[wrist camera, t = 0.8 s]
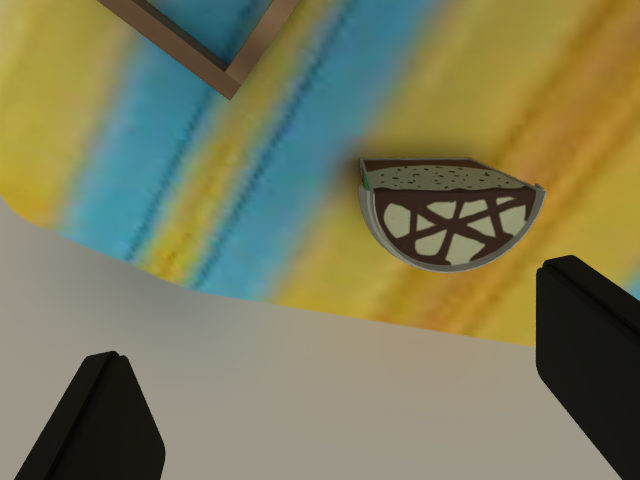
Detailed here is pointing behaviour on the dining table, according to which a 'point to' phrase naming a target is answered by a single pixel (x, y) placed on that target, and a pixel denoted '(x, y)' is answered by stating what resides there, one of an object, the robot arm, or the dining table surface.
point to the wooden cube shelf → (192, 54)
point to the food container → (445, 210)
